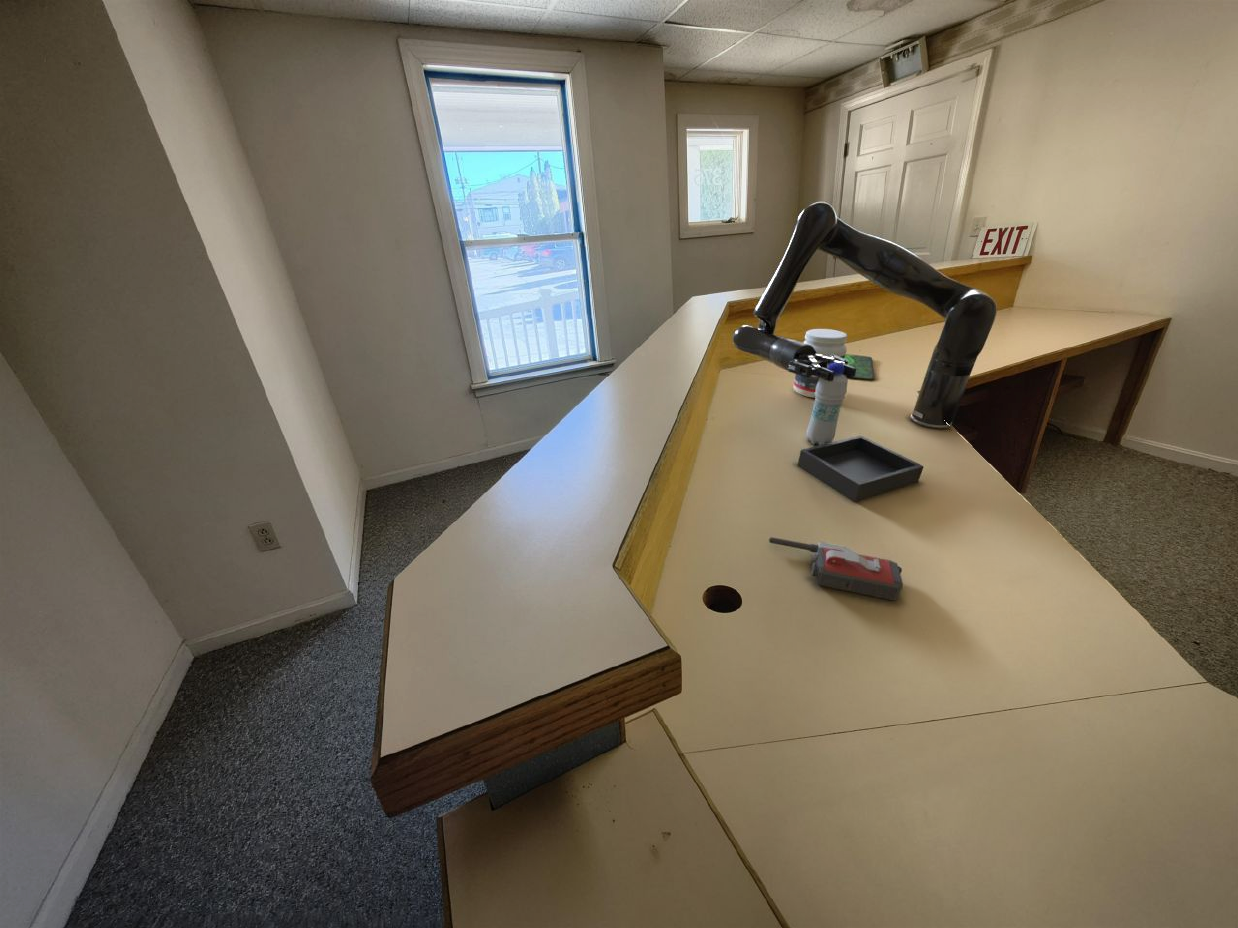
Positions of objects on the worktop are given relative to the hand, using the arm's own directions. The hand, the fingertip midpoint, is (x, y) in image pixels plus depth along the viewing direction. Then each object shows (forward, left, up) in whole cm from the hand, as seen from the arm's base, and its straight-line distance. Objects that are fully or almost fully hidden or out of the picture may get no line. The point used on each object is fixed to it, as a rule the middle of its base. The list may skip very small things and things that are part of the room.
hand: (843, 375), depth 101 cm
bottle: (0, -2, -18) cm, 18 cm away
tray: (+4, +13, -18) cm, 22 cm away
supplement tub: (-24, -29, -18) cm, 42 cm away
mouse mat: (-52, -46, -18) cm, 72 cm away
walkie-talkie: (+32, +34, -18) cm, 50 cm away
